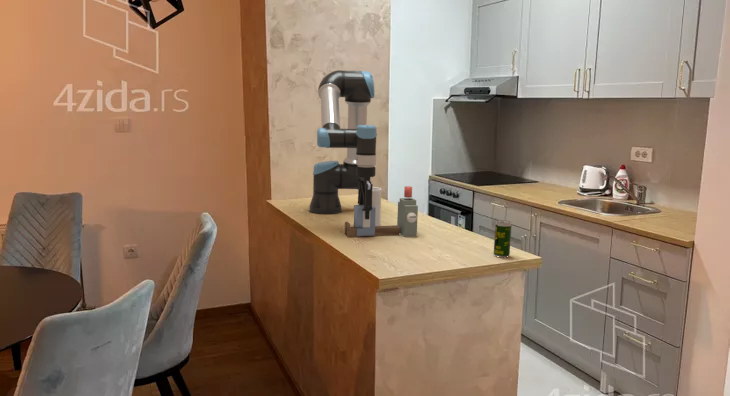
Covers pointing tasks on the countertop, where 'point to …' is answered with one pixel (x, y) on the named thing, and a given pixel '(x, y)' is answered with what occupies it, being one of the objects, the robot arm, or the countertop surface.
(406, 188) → the plunger
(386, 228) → the rail
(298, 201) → the countertop surface
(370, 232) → the block
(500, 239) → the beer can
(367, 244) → the countertop surface
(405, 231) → the grey upright block
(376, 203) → the cup
